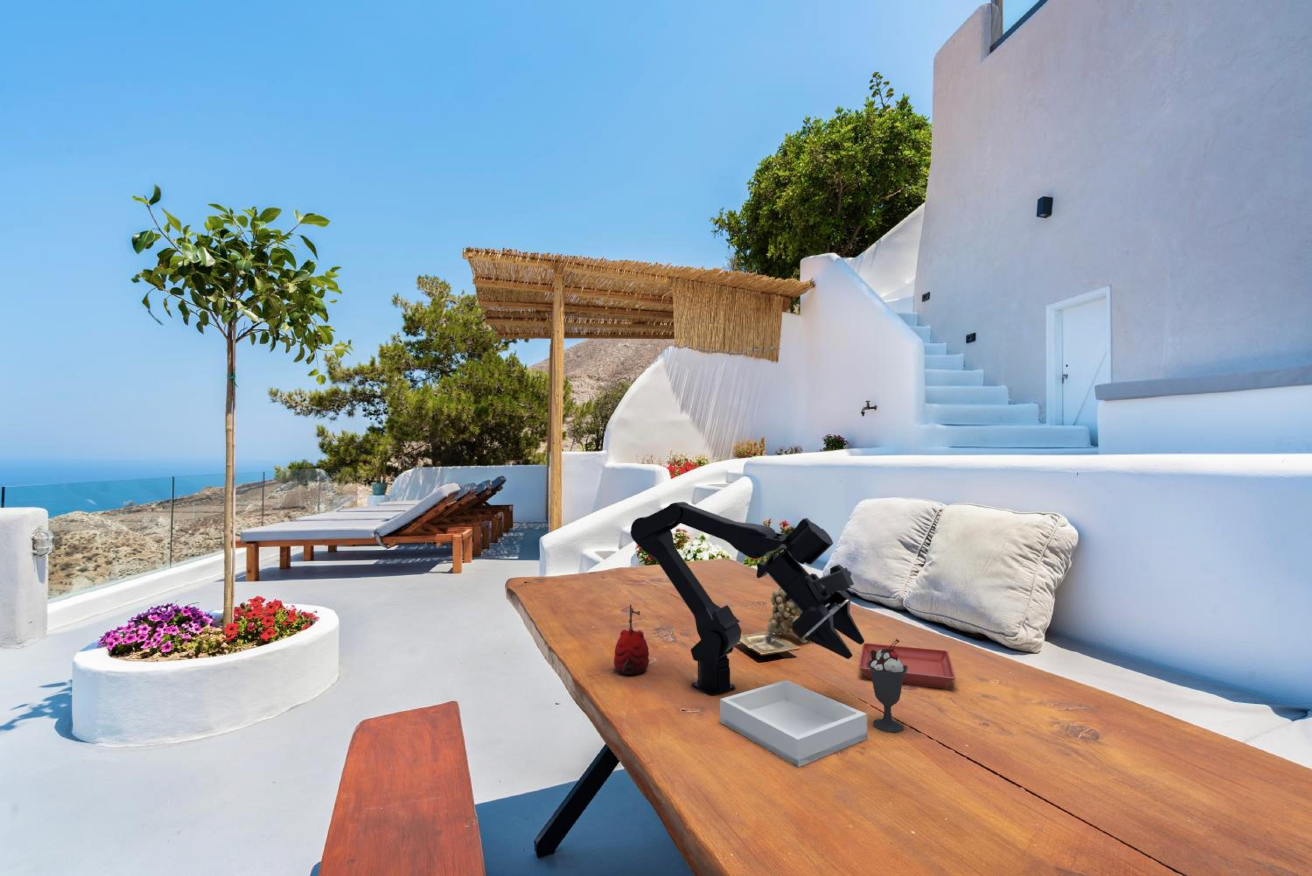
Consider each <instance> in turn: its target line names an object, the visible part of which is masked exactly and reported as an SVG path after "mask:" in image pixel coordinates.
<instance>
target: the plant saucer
mask: <svg viewBox="0 0 1312 876" xmlns="http://www.w3.org/2000/svg"><path fill="white" fill-rule="evenodd" d="M861 645H862V648H861V652H860V658H859V663H858V668H859V670H860V672H862V674H863V675H864V676H865V677H866V678H867V679H869V680H872V675H871V669H870V668H869V667H868V666H867V664H866V663H868V662H869V661H870V660H871V651H870V650H871V649H872V650H875V651H877V652H878V651H880V650H882V649H886V648H887V647H888V646H891V645H892V644H891V645H890V644H879V643H867V642H864V643H863V644H861ZM893 646H894V644H893V645H892V646H891V647H893ZM894 652H896V653H897V654H898V659H899V660H900V661H901V662H902V665H906V666H907V667H908V670H907V672H906V673H905V674H903V680H902V684H907V685H913V686H920V687H921V686H923V687H931V688H939V689H945V688H947V687H948V686H949V685H950V684H951V683H953V681H954V680H955V679H956V674H955V670H954V667H953V664H952V660H951V656H950V654H949V651H948V650H945V649H935V648H924V647H912V646H902V645H895V646H894Z"/></svg>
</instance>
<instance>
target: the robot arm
mask: <svg viewBox="0 0 1312 876" xmlns="http://www.w3.org/2000/svg"><path fill="white" fill-rule="evenodd" d="M680 524H681V525H684V526H687V527H688V528H689V527H690V528H692V529H694V530H698V531H699V532H702V533H705V534H708V535H709V536H712V537H715V538H718V539H720V540H723V541H725V542H727V543H728V544H730V545H731V547H733V549H735V550H736V551H738V552H739V553H741V554H743V555H745V556H746V557H748V558H750V559H755V560H756V559H757V560H758V559H761V558H764V557H766V556H768V555H771V556H770V557H769V558H768V559H767V560H765V562H762V561H761V562H758V563H756V568H757V569H756V578H757V579H761V578H763V577H765V576H767V575H768V576H769V577H770V578H771V579H772V580H773V582H775V584H777V586H778V587H779V589H780V588H781V589H782V590H783V591H784V592H785V593H786V596H785V597H784V598H785V599H786V600H787V601H790V600H792V601H793V603H794V604H795V605H796V606H797V607H798V608H799V609H800V610H801V612H802V613H801V614H800V616H799V617H798V618H797V619H796V620H795V621H794V622H793V623H792V631H793V632H794V633H795V634H796V635H797V636H798V638H799V639H801V638H802V637H803V636H805V635H806V634H807V632H809V635H808V636H807V637H806V638H805V640H806V641H807V642H811V643H813V644H816V645H818V646H820V647H822V648H824V649H827V650H828V651H829V652H833V653H834V654H837V655H838V656H840V657H842V658H845V659H847V660H850V659H851V658H852V657H853V653H852V651H851V650H850V648H849V647H848V646H847V643H845V640H843V638H842V637H841V635H840V634H839V633H841V634H842V635H844V636H845V637H847V638H849V639H850V640H852V641H853V642H855V643H856V644H858V645H859V646H861V645H863V643H865V639H864V636H863V635H862V634H861V632H860V629H859V628H858V626H857V623H856V622H855V620H854V618H853V616H852V614H851V612H850V610H851V607H850V606H851V603H852V601H851V599H849V598H850V597H851V595H850V594H849V593H848V592H847V591H846V590H848V589H850V588H851V586H854V585H855V583H854V581H853V579H852V577H851V576H852V572H851V571H849V569H848V568H847V567H843V565H841V564H836V565H834V566H831V567H830V568H829V573H828V574H826V575H825V576H822V577H819V575H817V574H816V573H814V572H812V573H810V574H809V572H808V571H807V570H806V569H805V568H804V567H803V565H804V564H806V565H813V564H814V562H816V561H817V560H819V558H820V557H821V556H822V555H823V554H824V553H826V551H827V550H828V549H830V548H831V547H832V545H834V541H833V538H832V537H831V536H830V534H829V533H828V532H827V531H826V530H825V529H824V528H821V527H820V526H819V525H817V524H816V523H814V522H812V521H811V520H810V519H809V518H808V517H805V518H802V519H801V520H800V521H799V522H798V524H797V525H796V527H794V529H792V530H791V532H790V533H789V534H784V533H779V532H776V530H775V529H773V528H772V527H770V526H769V525H762V524H756V523H751V522H740V521H734V520H732V519H729V518H727V517H723V516H721V515H719V514H716V513H713V512H711V511H707V510H704V509H702V508H700V507H696V506H694V505H691V504H689V503H687V501H677V502H673V503H672V502H671V503H670V504H669V505H667V506H666V507H664V508H663V509H660V510H659V511H656V512H654V513H652V514H650V515H648V516H641V517H638V518H636V519H634V521H633V522H632V524H631V527H630V533H629V534H630V537H631V539H632V540H633V542H635V544H636V545H637V546H638V547H639V548H640V549H641V550H642V551H643V552H644V553H646V554H647V555H649V556H651V557H653V558H654V559H655V560H656V562H657V563H658V564H659V566H660V567H661V570H662V571H663V572H664V573H665V575H666V576H667V578H668V580H669V581H670V582H671V584H672V585H673V587H674V589H675V591H677V593H678V594H679V596H680V597H681V599H682V600H683V602H684V603H685V604H686V606H687V608H688V609H689V611H690V612H691V614H692V615H693V617H694V621H695V628H696V633H697V635H698V636H699V639H700V640H699V641H698V642H697V643H695V644H694V646H693V647H691V648H690V653H691V656H692V660H693V661H696V662H697V681H694V682H691V687H693V688H695V689H697V690H700V691H701V692H702V693H705V694H707V695H709V696H713V695H717V694H721V693H725V692H728V691H732V690H735V689H736V685H734V684H733V683H731V667H730V658H728V655H729V654H730V653H731V654H732V652H733V650H734V648H735V646H737V645H738V643H740V641H741V638H742V629H741V626H740V625H739V623H740V622H741V620H740V619H739V618H737V617H736V616H735V615H734V614H733V611H732V610H731V608H730V606H729V605H727V604H726V605H724V606H722V607H721V606H719V605H717V604H716V603H715V602H714V601H713V600H712V598H711V596H710V595H709V594H708V593H707V591H706V589H705V588H704V587H703V585H702V584H701V583H700V581H699V580H698V578H697V577H696V575H695V574H694V572H693V571H692V570H691V568H690V566H689V565H688V564H687V562H686V561H685V560H684V558H683V557H682V555H681V554H680V552H679V551H678V550H677V549H676V547H675V541H674V535H673V532H672V530H673V529H675V528H676V527H678V526H679V525H680ZM783 548H784V550H783V551H782V552H781V553H779V554H778V553H774V552H775V551H777V550H779V549H783ZM848 599H849V600H848ZM838 632H839V633H838ZM798 638H797V639H798ZM799 639H798V640H799Z"/></svg>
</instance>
